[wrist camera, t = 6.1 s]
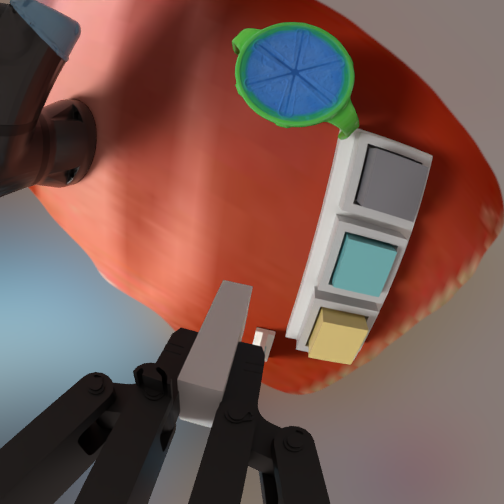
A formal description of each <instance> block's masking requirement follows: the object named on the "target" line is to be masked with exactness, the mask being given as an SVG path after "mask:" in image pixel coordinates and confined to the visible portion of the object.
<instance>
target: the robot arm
mask: <svg viewBox="0 0 504 504" xmlns="http://www.w3.org/2000/svg"><path fill="white" fill-rule="evenodd" d="M80 33H81V27H80V25H79V23H78V22H77V21H75V20H73V19H71V18H70V17H68V16H66V15H64V14H62V13H60V12H58V11H56V10H54V9H52V8H50V7H49V6H46V5H44V4H42V3H40V2H38V1H36V0H10V4H4V3H0V197H2V196H4V195H7V194H10V193H12V192H15V191H18V190H21V189H23V188H26V187H29V186H33V185H42V186H50V187H57V188H61V187H66V186H69V185H73V184H75V183H77V182H78V181H80V180H81V179H82V178H83V177H84V175H85V174H86V173H87V171H88V169H89V167H90V165H91V163H92V160H93V157H94V153H95V147H96V127H95V122H94V118H93V116H92V113H91V111H90V110H89V108H88V107H87V106H86V105H85V104H84V103H82V102H81V101H78V100H60V101H57V102H55V103H52V104H50V105H47V106H45V107H44V105H45V102H46V100H47V98H48V95H49V93H50V91H51V89H52V87H53V85H54V83H55V81H56V79H57V77H58V75H59V73H60V71H61V70H62V68H63V66H64V64H65V62H67V61H68V59H69V55H70V53H71V51H72V49H73V47H74V45H75V44H76V42H77V40H78V38H79V36H80ZM252 287H253V286H248V285H244V284H239V283H234V282H230V281H225V280H223V282H222V284H221V286H220V288H219V290H218V292H217V294H216V297H215V299H214V301H213V303H212V305H211V307H210V309H209V311H208V314H207V316H206V318H205V320H204V322H203V324H202V326H201V329H200V331H199V332H195V331H192V330H188V329H184V328H180V329H178V330H177V331H176V332H174V333H173V334H172V335H171V337H170V339H169V341H168V343H167V344H166V346H165V348H164V350H163V351H162V353H161V355H160V356H159V358H158V360H157V362H156V363H144V364H142V365H140V366H138V367H137V368H136V369H135V370H134V371H133V373H134V378H135V382H136V384H120V383H112V380H111V379H110V378H109V377H108V376H107V375H105V374H103V373H97V372H94V373H89V374H88V375H86V376H84V377H83V378H82V379H80V380H79V381H78V382H77V383H76V384H75V385H73V386H72V387H71V388H70V389H69V390H68V391H66V392H65V393H64V394H63V395H62V396H61V397H59V398H58V399H57V400H56V401H55V402H54V403H52V404H51V405H50V406H49V407H48V408H47V409H45V410H44V411H43V412H42V413H41V414H40V415H39V416H37V417H36V418H35V419H34V420H33V421H32V422H31V423H29V424H28V425H27V426H26V427H25V428H24V429H22V430H21V431H20V432H19V433H18V434H17V435H16V436H14V437H13V438H12V439H11V440H10V441H9V442H8V443H6V444H5V445H4V446H3V447H2V448H1V449H0V504H53V503H54V502H55V501H56V500H57V499H58V498H59V497H60V496H61V495H62V494H63V493H64V492H65V491H66V490H67V489H68V488H69V487H70V486H71V485H72V484H73V483H74V482H75V481H76V480H77V479H78V478H79V477H80V476H81V475H82V474H83V473H84V472H85V471H86V470H87V469H88V468H89V467H90V466H91V464H92V463H93V462H94V461H95V460H96V461H95V463H94V466H93V467H92V469H91V471H90V473H89V475H88V477H87V479H86V481H85V483H84V485H83V487H82V489H81V491H80V493H79V495H78V497H77V499H76V501H75V503H74V504H148V502H149V499H150V496H151V494H152V491H153V488H154V486H155V483H156V480H157V478H158V475H159V472H160V470H161V467H162V464H163V462H164V459H165V457H166V454H167V452H168V449H169V446H170V444H171V441H172V438H173V436H174V433H175V430H176V421H177V418H178V416H180V419H182V420H185V421H188V422H192V423H195V424H199V425H203V426H207V427H211V431H210V435H209V437H208V441H207V444H206V447H205V451H204V454H203V457H202V460H201V464H200V467H199V470H198V474H197V477H196V480H195V483H194V487H193V490H192V493H191V496H190V499H189V503H188V504H240V502H241V498H242V493H243V487H244V483H245V478H246V473H247V468H248V466H250V467H252V468H254V469H256V470H258V471H259V476H260V483H261V490H262V498H263V504H330V501H329V497H328V493H327V489H326V485H325V481H324V478H323V474H322V470H321V466H320V462H319V458H318V455H317V450H316V447H315V443H314V440H313V438H312V436H311V434H310V433H308V432H307V431H306V430H305V429H303V428H300V427H296V426H289V427H285V428H280V427H278V426H276V425H274V424H272V423H270V422H268V421H266V420H265V419H264V418H263V417H262V416H261V414H260V413H259V410H258V398H259V392H260V386H261V380H262V373H263V367H264V361H265V354H264V351H263V348H262V346H258V345H253V344H248V343H244V342H241V339H242V336H243V332H244V328H245V323H246V318H247V313H248V308H249V303H250V298H251V292H252Z"/></svg>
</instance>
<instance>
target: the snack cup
mask: <svg viewBox="0 0 504 504" xmlns="http://www.w3.org/2000/svg"><path fill="white" fill-rule="evenodd" d="M232 46H233V50H234V52H235V53H236V54H237V55H238V58H237V61H236V66H235V77H236V82H237V83H236V85H235V86H236V88H237V91H238V94H239V95H240V96H242V97H243V99H244V100H245V102H246V103H247V104H248V105H249V107H250V108H251V109H252V110H254V111H255V112H256V113H257V114H258V115H260V116H261V117H263V118H265V119H267V120H269V121H271V122H273V123H275V124H276V125H277V126H280V127H285V128H290V127H306V126H312V125H316V124H319V123H322V122H329V123H331V124H333V125H335V126H337V127H338V128H340V129H341V132H340V133H339V135H338V138H339V139H340V140H344V139H347V138H348V137H349V136H350V135H351V134H352V133H353V132H354V131H355V130H356V129H357V128H358V127H359V119H358V117H357V114H356V111H355V108H354V107H353V105H352V102H351V100H350V96H351V93H352V90H353V86H354V78H355V74H354V68H353V61H352V59H351V57H350V55H349V54H348V52H347V51H346V49H345V48H344V47H343V45H342V44H341V43H340V42H339V41H338V40H337V39H336V38H335V37H334V36H332V35H331V34H330V33H328V32H326V31H325V30H323V29H321V28H318V27H316V26H313V25H310V24H307V23H299V22H284V23H279V24H275V25H272V26H269V27H266V28H264V29H262V30H260V29H254V28H247V29H244V30H242V31H241V32H240V33H239V34H238V35H237V36H236V37H235V38H234V39H233V40H232Z"/></svg>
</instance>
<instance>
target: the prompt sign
mask: <svg viewBox="0 0 504 504" xmlns="http://www.w3.org/2000/svg"><path fill="white" fill-rule="evenodd" d="M274 337H275V331H271V330H267V329H263V328H259V327H257V329H256V333H255V337H254V341H253V345H258V346H262V348H263V351H264V354H265V361H267V359H268V356H269V353H270V350H271V347H272V343H273V340H274Z"/></svg>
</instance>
